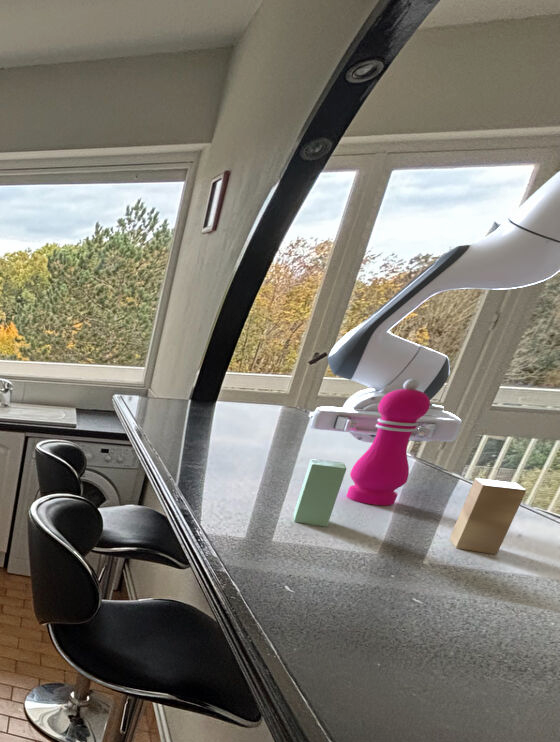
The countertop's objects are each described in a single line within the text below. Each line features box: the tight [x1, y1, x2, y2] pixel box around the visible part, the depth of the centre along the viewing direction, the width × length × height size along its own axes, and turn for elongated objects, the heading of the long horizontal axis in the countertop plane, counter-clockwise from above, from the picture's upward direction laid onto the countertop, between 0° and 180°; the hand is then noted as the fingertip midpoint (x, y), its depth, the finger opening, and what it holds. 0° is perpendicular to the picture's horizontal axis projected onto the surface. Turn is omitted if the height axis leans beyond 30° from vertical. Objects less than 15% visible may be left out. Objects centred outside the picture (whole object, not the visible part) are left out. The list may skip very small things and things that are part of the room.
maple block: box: [449, 477, 527, 556], centre depth 79 cm, size 4×4×9 cm
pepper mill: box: [346, 379, 431, 507], centre depth 96 cm, size 7×7×20 cm
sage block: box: [292, 458, 347, 528], centre depth 88 cm, size 4×4×9 cm
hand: (386, 429), depth 101 cm, fingers open, 8 cm apart
